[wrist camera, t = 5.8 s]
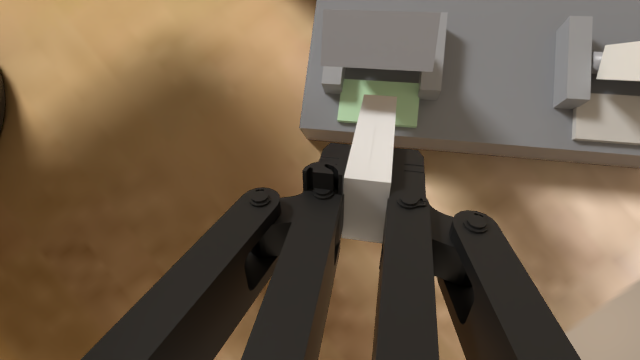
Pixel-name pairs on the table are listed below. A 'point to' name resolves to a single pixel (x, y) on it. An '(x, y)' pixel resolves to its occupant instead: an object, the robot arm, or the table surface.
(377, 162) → the robot arm
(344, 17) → the lever
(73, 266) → the table surface
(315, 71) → the console
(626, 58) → the lever
